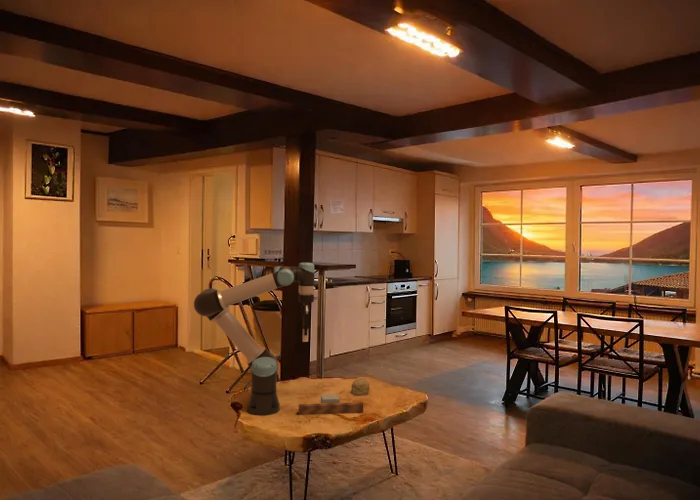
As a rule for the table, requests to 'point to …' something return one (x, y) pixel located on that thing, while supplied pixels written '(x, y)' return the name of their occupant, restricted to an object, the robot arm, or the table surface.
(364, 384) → the decorative object
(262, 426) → the table surface
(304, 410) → the brown wooden bar
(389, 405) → the table surface
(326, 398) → the block
